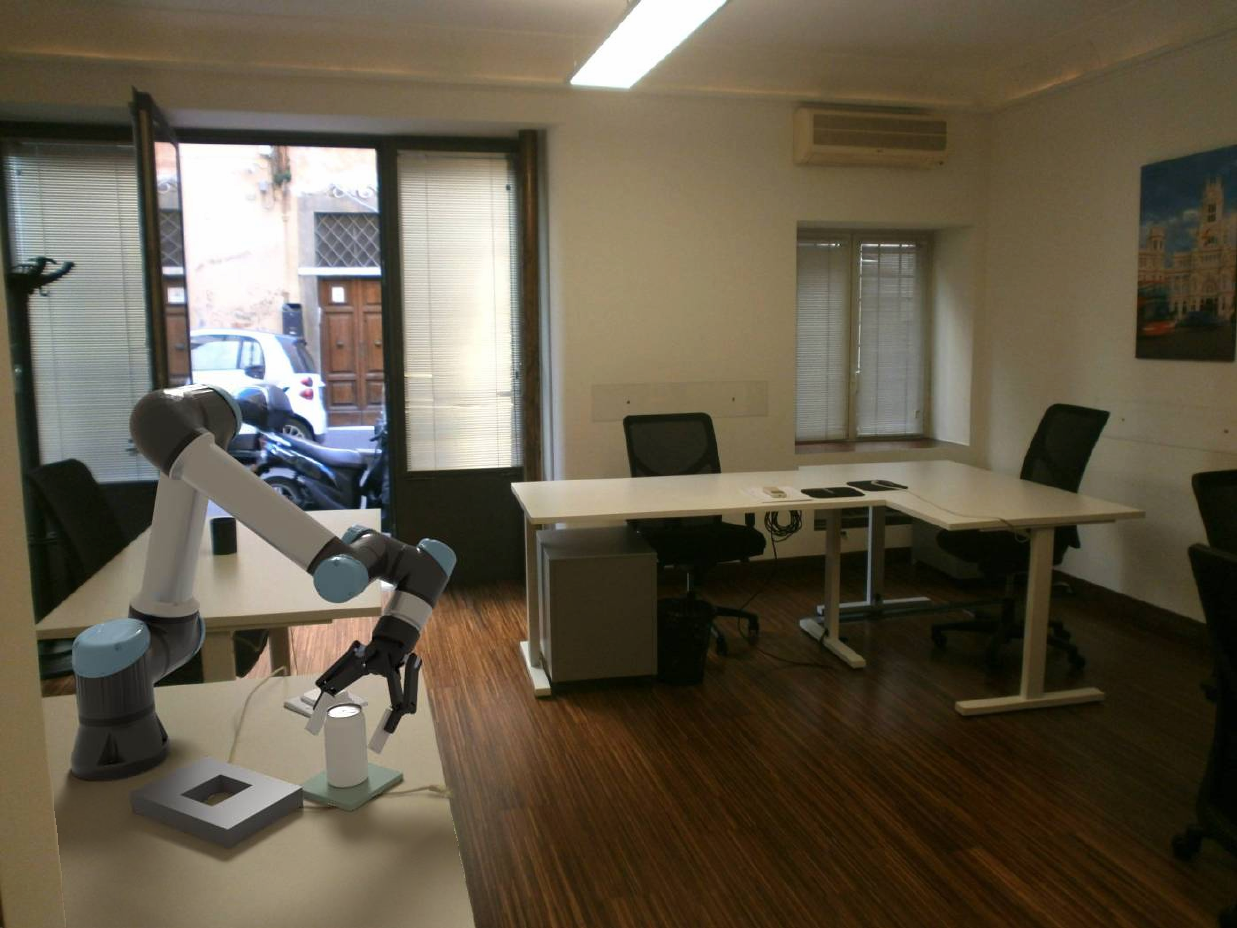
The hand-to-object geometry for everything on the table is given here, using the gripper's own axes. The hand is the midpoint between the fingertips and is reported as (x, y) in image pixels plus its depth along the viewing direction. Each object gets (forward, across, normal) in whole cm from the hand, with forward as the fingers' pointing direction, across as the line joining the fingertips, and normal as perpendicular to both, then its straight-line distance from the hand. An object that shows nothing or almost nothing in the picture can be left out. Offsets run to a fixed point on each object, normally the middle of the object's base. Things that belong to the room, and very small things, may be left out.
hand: (341, 741), depth 154 cm
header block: (+16, +13, +4) cm, 21 cm away
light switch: (-10, +28, -23) cm, 37 cm away
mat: (+5, 0, -7) cm, 8 cm away
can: (+4, 0, -6) cm, 8 cm away
